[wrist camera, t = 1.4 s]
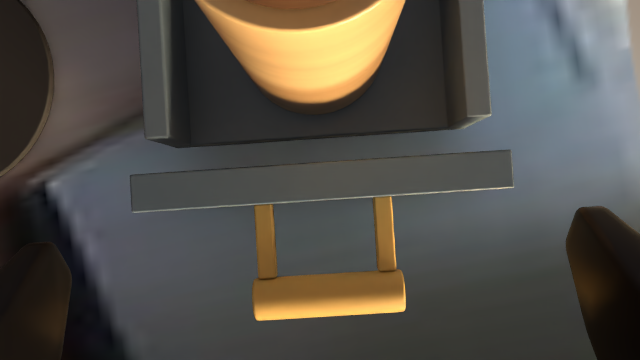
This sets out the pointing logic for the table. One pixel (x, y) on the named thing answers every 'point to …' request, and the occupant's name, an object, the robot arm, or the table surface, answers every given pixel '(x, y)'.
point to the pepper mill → (307, 47)
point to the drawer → (282, 125)
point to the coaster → (22, 82)
